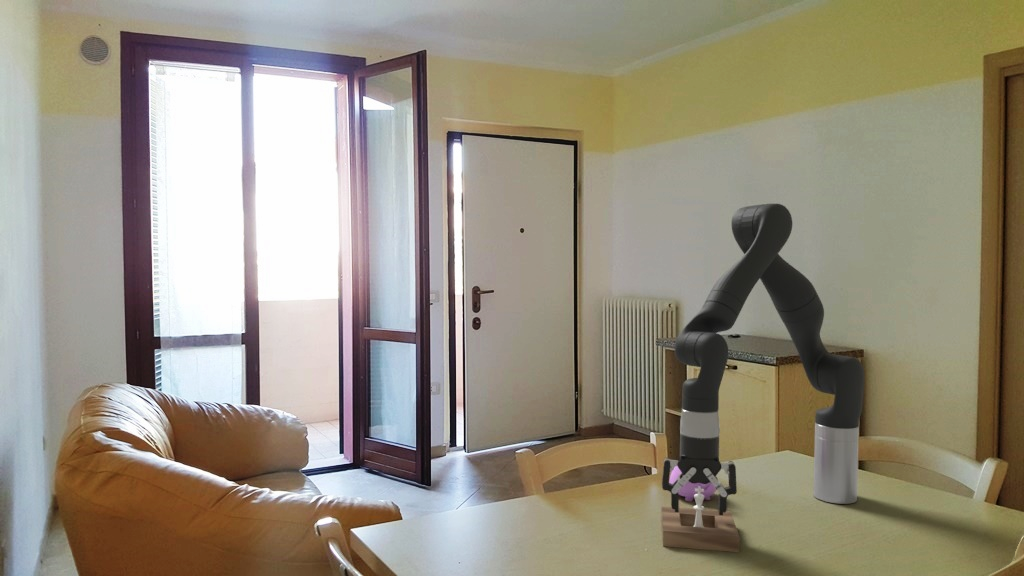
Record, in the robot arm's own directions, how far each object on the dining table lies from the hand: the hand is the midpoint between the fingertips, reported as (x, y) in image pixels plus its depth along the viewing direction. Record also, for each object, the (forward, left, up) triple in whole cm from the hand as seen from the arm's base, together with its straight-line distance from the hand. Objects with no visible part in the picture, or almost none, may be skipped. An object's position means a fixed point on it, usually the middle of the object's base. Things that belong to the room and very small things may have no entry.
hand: (698, 512), depth 143 cm
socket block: (0, 0, -5) cm, 5 cm away
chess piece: (0, 0, -5) cm, 5 cm away
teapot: (-24, +1, -5) cm, 25 cm away
